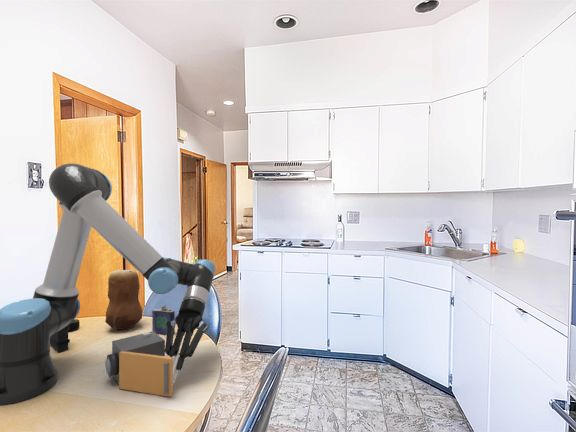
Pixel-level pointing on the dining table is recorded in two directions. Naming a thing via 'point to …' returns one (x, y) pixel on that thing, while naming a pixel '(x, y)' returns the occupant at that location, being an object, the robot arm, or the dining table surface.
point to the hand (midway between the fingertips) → (169, 382)
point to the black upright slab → (60, 340)
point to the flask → (162, 320)
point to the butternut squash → (123, 300)
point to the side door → (146, 373)
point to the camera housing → (134, 349)
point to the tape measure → (74, 325)
